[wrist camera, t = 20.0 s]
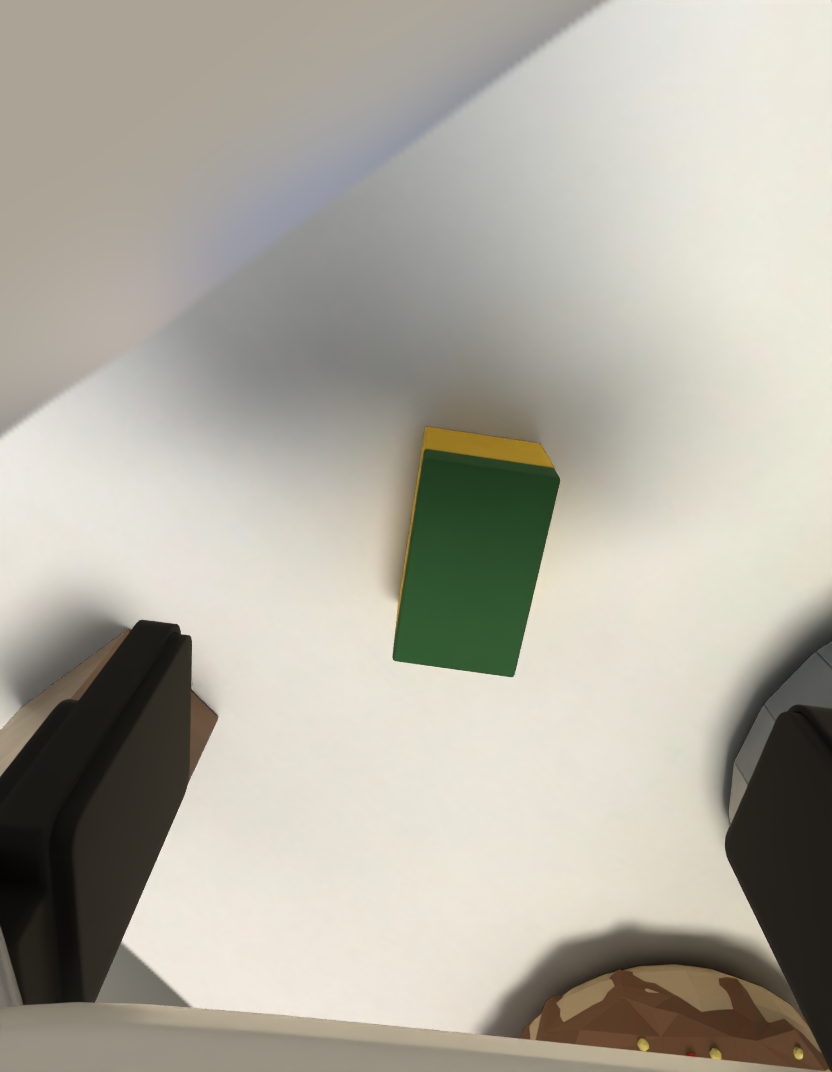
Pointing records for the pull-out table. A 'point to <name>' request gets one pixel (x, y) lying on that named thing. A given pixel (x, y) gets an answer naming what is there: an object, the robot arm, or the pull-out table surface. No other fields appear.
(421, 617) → the sponge
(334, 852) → the pull-out table surface
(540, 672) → the pull-out table surface
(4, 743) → the wooden block
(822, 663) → the bowl
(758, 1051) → the donut
